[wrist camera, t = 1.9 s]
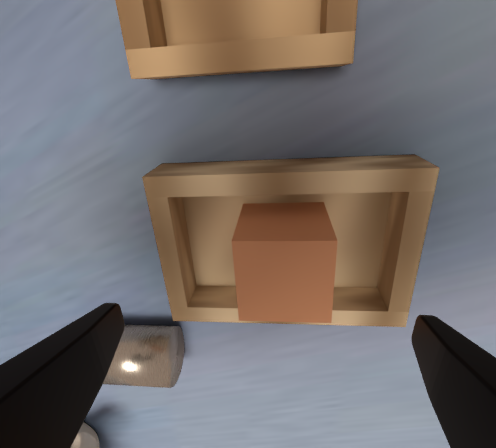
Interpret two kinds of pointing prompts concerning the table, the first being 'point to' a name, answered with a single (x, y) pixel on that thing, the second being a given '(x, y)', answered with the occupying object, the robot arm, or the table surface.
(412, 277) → the birch box
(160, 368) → the grey rounded piece
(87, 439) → the mug
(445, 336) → the robot arm
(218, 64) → the oak box
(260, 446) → the table surface
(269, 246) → the cube
